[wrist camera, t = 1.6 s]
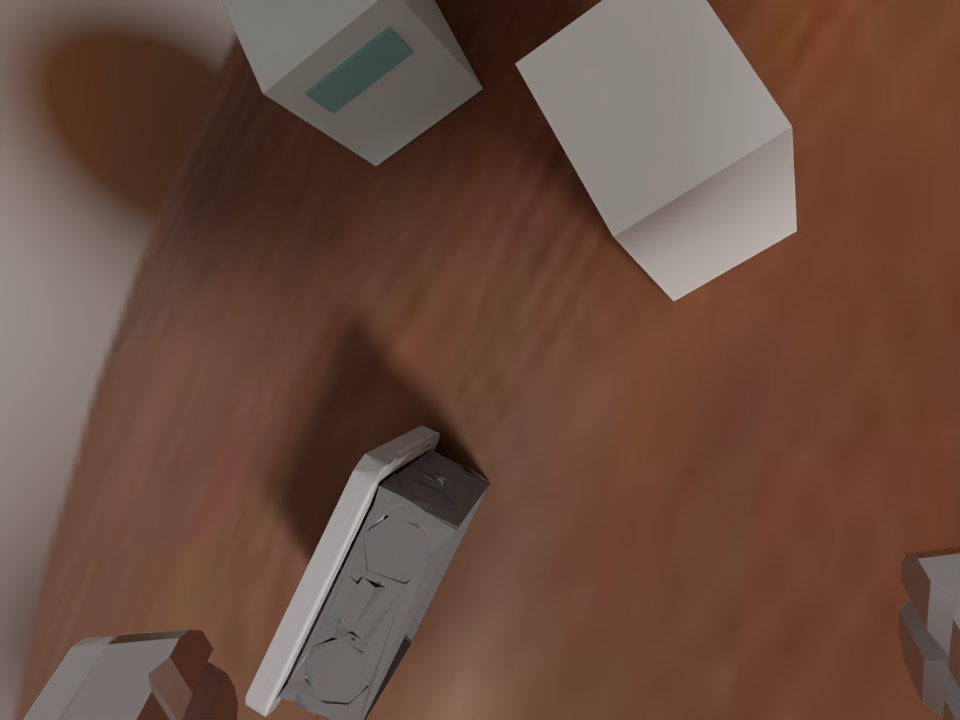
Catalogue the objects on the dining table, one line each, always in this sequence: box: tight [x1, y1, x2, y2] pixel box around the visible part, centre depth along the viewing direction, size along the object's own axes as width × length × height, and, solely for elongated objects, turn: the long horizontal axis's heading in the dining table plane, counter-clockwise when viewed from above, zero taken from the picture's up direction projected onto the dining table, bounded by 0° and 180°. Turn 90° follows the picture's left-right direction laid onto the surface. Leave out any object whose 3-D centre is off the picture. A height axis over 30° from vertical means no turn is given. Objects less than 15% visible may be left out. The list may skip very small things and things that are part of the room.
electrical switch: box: [246, 425, 490, 720], centre depth 28 cm, size 9×5×9 cm, turn 152°
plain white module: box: [515, 0, 797, 301], centre depth 25 cm, size 5×6×10 cm
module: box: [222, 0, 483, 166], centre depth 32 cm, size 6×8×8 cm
